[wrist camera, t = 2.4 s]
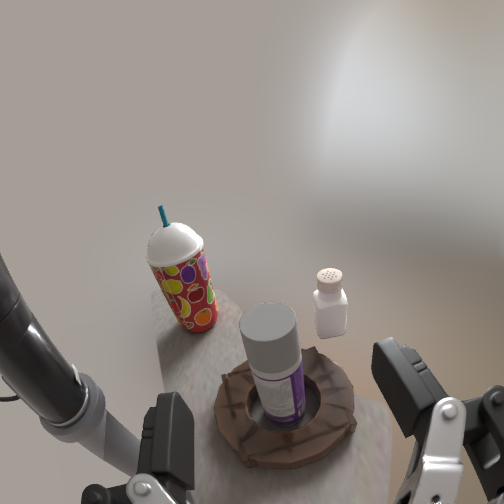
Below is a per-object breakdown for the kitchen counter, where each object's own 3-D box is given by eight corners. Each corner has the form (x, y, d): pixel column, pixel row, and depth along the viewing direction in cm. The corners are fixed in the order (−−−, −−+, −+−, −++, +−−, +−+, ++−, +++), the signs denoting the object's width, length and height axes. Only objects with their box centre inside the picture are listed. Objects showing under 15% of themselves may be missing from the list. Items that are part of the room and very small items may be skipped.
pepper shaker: (346, 336, 37) (349, 281, 32) (319, 341, 37) (316, 287, 32) (340, 317, 40) (340, 263, 35) (314, 321, 40) (310, 268, 36)
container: (287, 387, 31) (272, 293, 24) (314, 409, 28) (310, 318, 21) (257, 409, 29) (226, 320, 22) (282, 434, 26) (261, 353, 19)
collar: (234, 483, 21) (228, 478, 20) (212, 379, 34) (206, 368, 33) (373, 436, 23) (377, 427, 22) (321, 345, 36) (321, 333, 35)
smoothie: (185, 304, 49) (147, 200, 40) (229, 303, 48) (199, 190, 38) (169, 338, 42) (119, 224, 33) (219, 339, 41) (177, 215, 31)
